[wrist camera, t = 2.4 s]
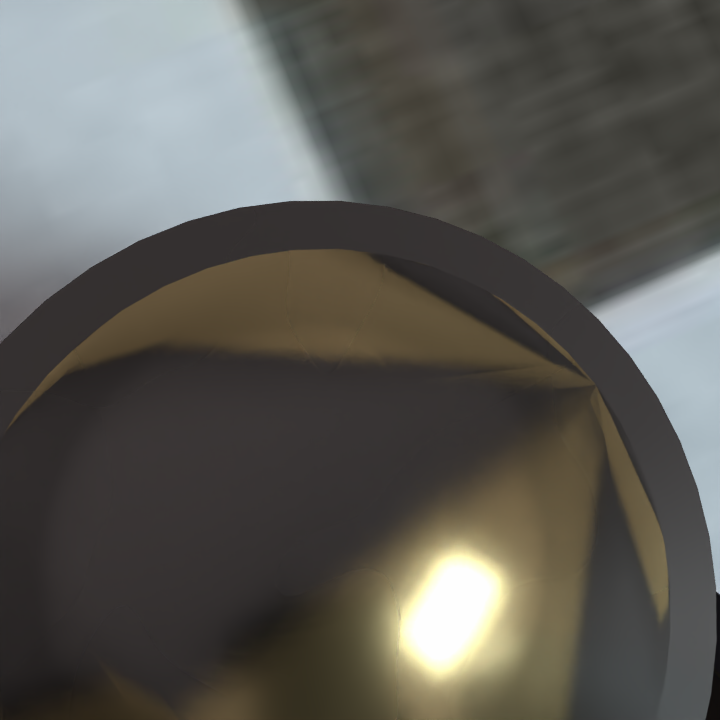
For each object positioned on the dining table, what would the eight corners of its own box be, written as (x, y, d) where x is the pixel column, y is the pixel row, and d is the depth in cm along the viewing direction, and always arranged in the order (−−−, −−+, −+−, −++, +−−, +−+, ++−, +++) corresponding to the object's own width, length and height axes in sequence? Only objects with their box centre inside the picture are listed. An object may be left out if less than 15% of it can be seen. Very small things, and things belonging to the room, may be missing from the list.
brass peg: (357, 565, 17) (697, 1088, 3) (190, 546, 16) (-240, 1077, 3) (378, 402, 18) (733, 271, 4) (219, 379, 17) (-9, 133, 3)
